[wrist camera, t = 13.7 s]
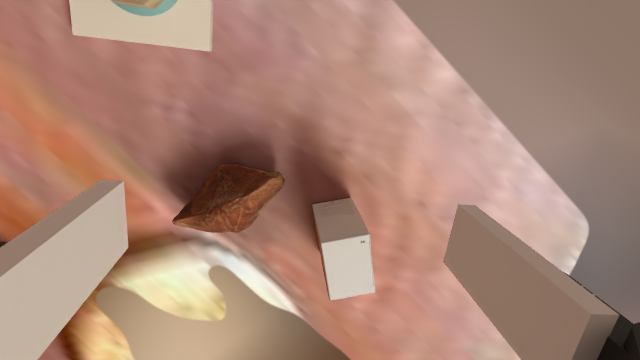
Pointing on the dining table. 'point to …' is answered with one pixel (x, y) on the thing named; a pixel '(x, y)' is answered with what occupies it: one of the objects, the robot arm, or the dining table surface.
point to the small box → (344, 249)
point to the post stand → (146, 22)
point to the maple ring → (141, 3)
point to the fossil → (230, 199)
